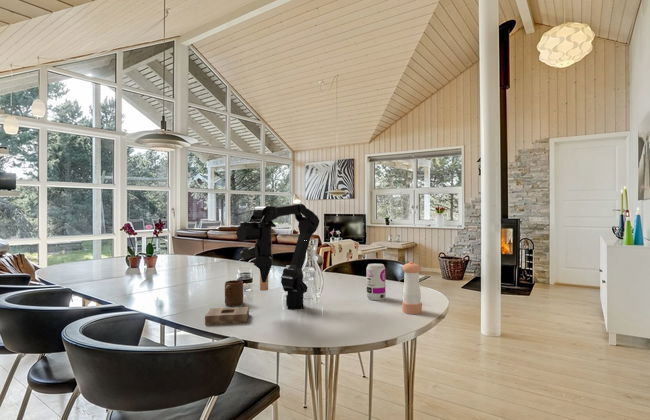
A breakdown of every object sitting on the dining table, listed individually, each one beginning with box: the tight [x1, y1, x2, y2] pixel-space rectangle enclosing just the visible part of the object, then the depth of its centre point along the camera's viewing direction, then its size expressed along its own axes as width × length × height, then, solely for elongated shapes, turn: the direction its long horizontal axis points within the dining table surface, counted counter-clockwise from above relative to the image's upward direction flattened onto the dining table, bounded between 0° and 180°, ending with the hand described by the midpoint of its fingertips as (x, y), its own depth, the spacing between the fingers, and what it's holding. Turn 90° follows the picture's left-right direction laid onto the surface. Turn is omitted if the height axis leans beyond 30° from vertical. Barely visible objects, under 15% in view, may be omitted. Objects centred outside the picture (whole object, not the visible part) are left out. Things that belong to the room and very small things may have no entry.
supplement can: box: [366, 263, 387, 301], centre depth 158 cm, size 8×8×15 cm
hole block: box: [204, 306, 250, 326], centre depth 129 cm, size 14×10×3 cm
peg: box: [259, 272, 269, 292], centre depth 133 cm, size 3×3×10 cm
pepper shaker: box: [401, 261, 423, 315], centre depth 137 cm, size 7×7×19 cm
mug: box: [224, 279, 244, 307], centre depth 149 cm, size 12×8×9 cm, turn 173°
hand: (264, 281), depth 133 cm, fingers closed on peg, 3 cm apart
